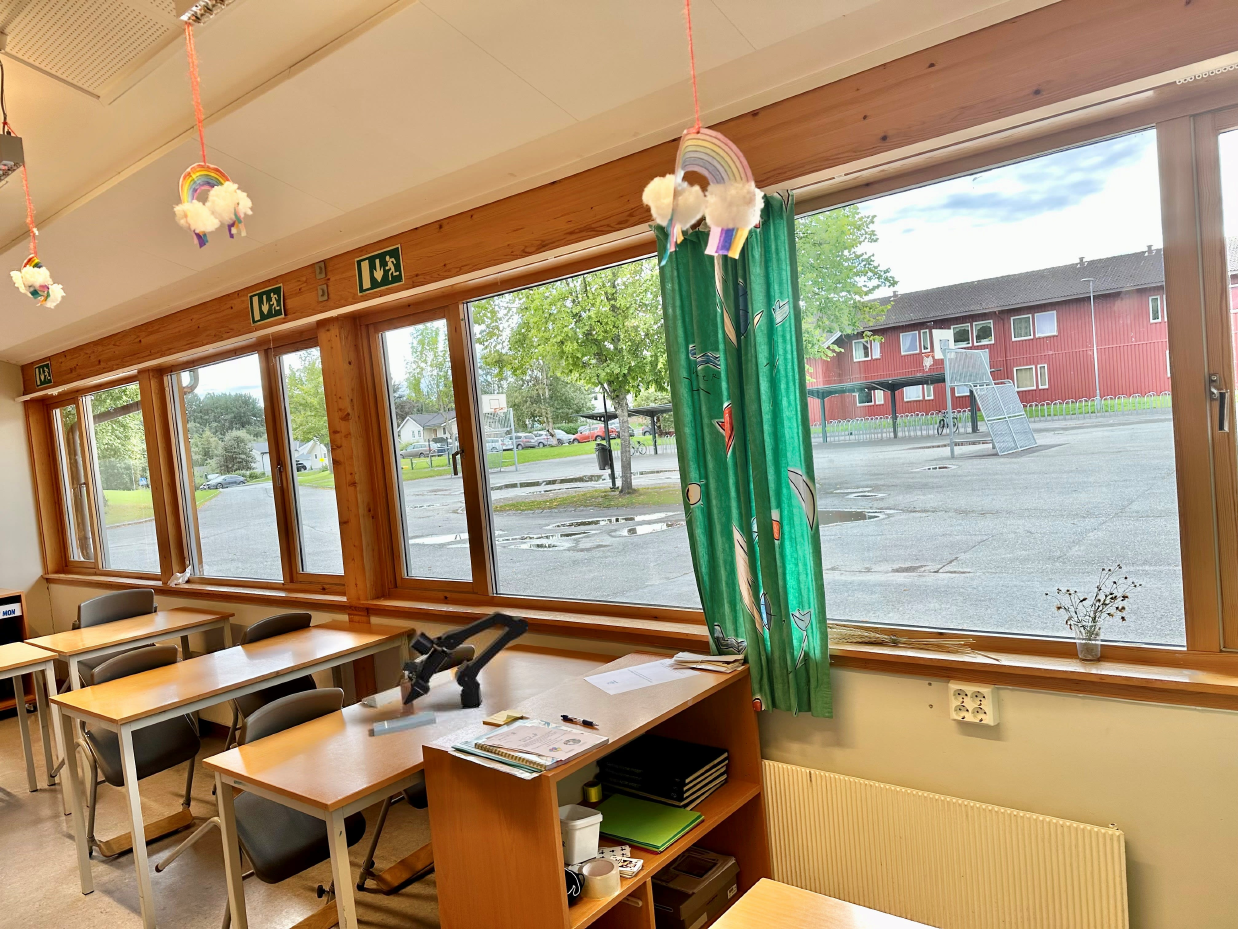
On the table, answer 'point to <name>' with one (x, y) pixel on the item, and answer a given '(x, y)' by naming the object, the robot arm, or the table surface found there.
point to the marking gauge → (405, 689)
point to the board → (404, 723)
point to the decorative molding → (396, 692)
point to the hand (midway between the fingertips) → (403, 700)
